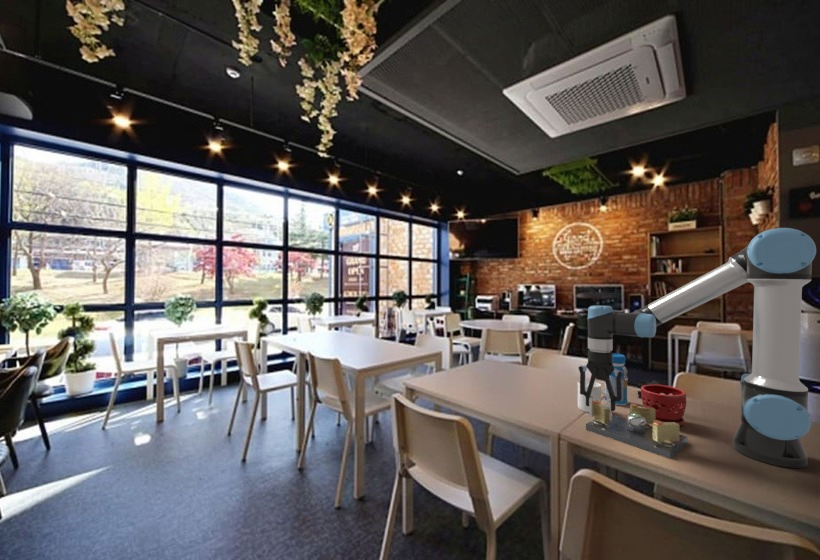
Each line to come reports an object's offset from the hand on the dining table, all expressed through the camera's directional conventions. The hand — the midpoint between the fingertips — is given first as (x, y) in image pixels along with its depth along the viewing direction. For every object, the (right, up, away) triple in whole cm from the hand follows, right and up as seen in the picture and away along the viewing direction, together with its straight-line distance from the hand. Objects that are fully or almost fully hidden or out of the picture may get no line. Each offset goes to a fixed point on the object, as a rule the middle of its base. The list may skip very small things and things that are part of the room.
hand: (600, 417), depth 119 cm
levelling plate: (+8, -4, -6) cm, 11 cm away
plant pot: (+26, -4, +6) cm, 27 cm away
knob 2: (+11, -1, -15) cm, 19 cm away
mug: (+7, -4, +16) cm, 18 cm away
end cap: (+39, -4, +32) cm, 51 cm away
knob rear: (+13, -1, -2) cm, 13 cm away
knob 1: (0, -1, 0) cm, 1 cm away
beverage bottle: (+21, -4, +26) cm, 33 cm away
